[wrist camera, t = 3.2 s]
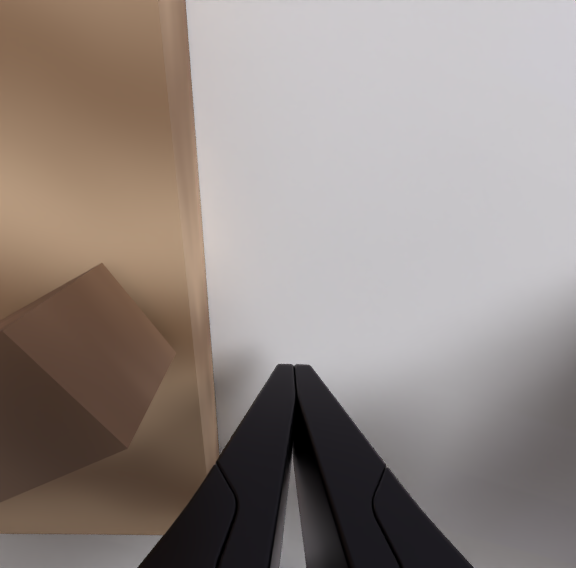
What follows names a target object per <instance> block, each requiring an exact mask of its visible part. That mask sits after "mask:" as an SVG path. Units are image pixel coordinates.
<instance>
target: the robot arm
mask: <svg viewBox="0 0 576 568" xmlns="http://www.w3.org/2000/svg"><path fill="white" fill-rule="evenodd" d="M292 448H293V463H294V471H295V479H296V488H297V496H298V504H299V512H300V520H301V528H302V536H303V544H304V552H305V560H306V568H474V567H473V566H472V565H471V564H470V563H469V562H468V561H467V560H466V559H465V558H464V556H463V555H462V554H461V553H460V552H459V551H458V550H457V549H456V548H455V547H454V546H453V544H452V543H451V542H450V541H449V540H448V539H447V538H446V537H445V536H444V535H443V533H442V532H441V531H440V530H439V529H438V528H437V527H436V526H435V524H434V523H433V522H432V521H431V520H430V519H429V518H428V516H427V515H426V514H425V513H424V512H423V511H422V510H421V508H420V507H419V506H418V505H417V504H416V502H415V501H414V500H413V499H412V497H411V496H410V495H409V494H408V492H407V491H406V490H405V489H404V487H403V486H402V485H401V484H400V482H399V481H398V480H397V478H396V477H395V476H394V474H393V473H392V472H391V470H390V469H389V468H386V464H385V463H384V461H383V460H382V459H381V458H380V456H379V455H378V454H377V452H376V451H375V450H374V448H373V447H372V446H371V444H370V443H369V442H368V440H367V439H366V438H365V437H364V435H363V434H362V433H361V431H360V430H359V429H358V427H357V426H356V425H355V423H354V422H353V421H352V419H351V418H350V417H349V415H348V414H347V413H346V412H345V410H344V409H343V408H342V406H341V405H340V404H339V402H338V401H337V400H336V398H335V397H334V396H333V394H332V393H331V392H330V391H329V389H328V388H327V387H326V385H325V384H324V383H323V381H322V380H321V379H320V377H319V376H318V375H317V373H316V372H315V371H314V369H313V368H312V367H311V366H310V365H303V364H296V365H295V366H293V365H292V364H278V365H277V366H276V368H275V369H274V371H273V372H272V374H271V376H270V377H269V379H268V380H267V382H266V383H265V385H264V387H263V388H262V390H261V391H260V393H259V394H258V396H257V398H256V399H255V401H254V402H253V404H252V405H251V407H250V409H249V410H248V412H247V413H246V415H245V416H244V418H243V420H242V421H241V423H240V424H239V426H238V427H237V429H236V431H235V432H234V434H233V435H232V437H231V438H230V440H229V442H228V443H227V445H226V446H225V448H224V449H223V451H222V453H221V454H220V456H219V457H218V459H217V461H216V464H215V465H213V466H212V468H211V470H210V471H209V473H208V474H207V476H206V477H205V479H204V481H203V482H202V484H201V485H200V486H199V488H198V489H197V491H196V492H195V494H194V495H193V497H192V498H191V500H190V501H189V503H188V504H187V505H186V507H185V508H184V509H183V511H182V512H181V513H180V515H179V516H178V517H177V519H176V520H175V521H174V522H173V524H172V525H171V526H170V528H169V529H168V530H167V532H166V533H165V534H164V535H163V537H162V538H161V539H160V540H159V542H158V543H157V544H156V545H155V547H154V548H153V549H152V550H151V552H150V553H149V554H148V555H147V557H146V558H145V559H144V560H143V562H142V563H141V564H140V565H139V567H138V568H279V566H280V557H281V549H282V540H283V531H284V523H285V514H286V505H287V496H288V488H289V479H290V470H291V460H292Z"/></svg>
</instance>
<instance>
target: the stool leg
mask: <svg viewBox="0 0 576 568" xmlns="http://www.w3.org/2000/svg"><path fill="white" fill-rule="evenodd" d="M175 354H176V352H175V350H174V349H173V348H172V347H171V346H170V344H169V343H168V342H167V341H166V339H165V338H164V337H163V336H162V335H161V333H160V332H159V331H158V330H157V329H156V327H155V326H154V325H153V324H152V322H151V321H150V320H149V319H148V318H147V316H146V315H145V314H144V313H143V312H142V310H141V309H140V308H139V307H138V306H137V304H136V303H135V302H134V301H133V299H132V298H131V297H130V296H129V295H128V293H127V292H126V291H125V290H124V289H123V287H122V286H121V285H120V284H119V283H118V281H117V280H116V279H115V278H114V276H113V275H112V274H111V273H110V272H109V270H108V269H107V268H106V267H105V266H104V264H103V263H100V264H99V265H97V266H95V267H93V268H92V269H90V270H88V271H86V272H85V273H83V274H81V275H79V276H78V277H76V278H74V279H72V280H71V281H69V282H67V283H65V284H64V285H62V286H60V287H58V288H57V289H55V290H53V291H51V292H49V293H48V294H46V295H44V296H42V297H41V298H39V299H37V300H35V301H34V302H32V303H30V304H28V305H27V306H25V307H23V308H21V309H20V310H18V311H16V312H14V313H13V314H11V315H9V316H7V317H6V318H4V319H2V320H0V502H3V501H5V500H7V499H10V498H12V497H15V496H17V495H19V494H22V493H24V492H26V491H29V490H31V489H33V488H36V487H38V486H41V485H43V484H45V483H48V482H50V481H52V480H55V479H57V478H59V477H62V476H64V475H67V474H69V473H71V472H74V471H76V470H78V469H81V468H83V467H86V466H88V465H90V464H93V463H95V462H97V461H100V460H102V459H104V458H107V457H109V456H112V455H114V454H116V453H119V452H121V451H123V450H126V449H128V447H129V445H130V443H131V441H132V440H133V438H134V436H135V434H136V432H137V430H138V428H139V426H140V424H141V422H142V420H143V418H144V416H145V414H146V412H147V410H148V408H149V406H150V404H151V402H152V400H153V398H154V396H155V394H156V392H157V390H158V388H159V386H160V384H161V382H162V380H163V378H164V376H165V374H166V372H167V370H168V368H169V366H170V364H171V362H172V360H173V358H174V356H175Z"/></svg>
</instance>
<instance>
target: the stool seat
mask: <svg viewBox="0 0 576 568" xmlns="http://www.w3.org/2000/svg"><path fill="white" fill-rule="evenodd" d="M100 263H103V264H104V266H105V267H106V268H107V269H108V270H109V272H110V273H111V274H112V275H113V276H114V278H115V279H116V280H117V281H118V283H119V284H120V285H121V286H122V287H123V289H124V290H125V291H126V292H127V293H128V295H129V296H130V297H131V298H132V299H133V301H134V302H135V303H136V304H137V306H138V307H139V308H140V309H141V310H142V312H143V313H144V314H145V315H146V316H147V318H148V319H149V320H150V321H151V322H152V324H153V325H154V326H155V327H156V329H157V330H158V331H159V332H160V333H161V335H162V336H163V337H164V338H165V339H166V341H167V342H168V343H169V344H170V346H171V347H172V348H173V349H174V350H175V352H176V354H175V356H174V358H173V360H172V362H171V364H170V366H169V368H168V370H167V372H166V374H165V376H164V378H163V380H162V382H161V384H160V386H159V388H158V390H157V392H156V394H155V396H154V398H153V400H152V402H151V404H150V406H149V408H148V410H147V412H146V414H145V416H144V418H143V420H142V422H141V424H140V426H139V428H138V430H137V432H136V434H135V436H134V438H133V440H132V441H131V443H130V445H129V447H128V449H126V450H123V451H121V452H119V453H116V454H114V455H112V456H109V457H107V458H104V459H102V460H100V461H97V462H95V463H93V464H90V465H88V466H86V467H83V468H81V469H78V470H76V471H74V472H71V473H69V474H67V475H64V476H62V477H59V478H57V479H55V480H52V481H50V482H48V483H45V484H43V485H41V486H38V487H36V488H33V489H31V490H29V491H26V492H24V493H22V494H19V495H17V496H15V497H12V498H10V499H7V500H5V501H3V502H0V534H107V535H164V534H165V533H166V532H167V530H168V529H169V528H170V526H171V525H172V524H173V522H174V521H175V520H176V519H177V517H178V516H179V515H180V513H181V512H182V511H183V509H184V508H185V507H186V505H187V504H188V503H189V501H190V500H191V498H192V497H193V495H194V494H195V492H196V491H197V489H198V488H199V486H200V485H201V484H202V482H203V481H204V479H205V477H206V476H207V474H208V473H209V471H210V470H211V468H212V466H213V465H215V464H216V461H217V459H218V457H219V444H218V431H217V418H216V404H215V391H214V377H213V364H212V351H211V337H210V324H209V311H208V297H207V284H206V270H205V257H204V244H203V230H202V217H201V203H200V190H199V177H198V163H197V150H196V136H195V123H194V110H193V96H192V83H191V69H190V56H189V43H188V29H187V16H186V2H185V0H0V320H2V319H4V318H6V317H7V316H9V315H11V314H13V313H14V312H16V311H18V310H20V309H21V308H23V307H25V306H27V305H28V304H30V303H32V302H34V301H35V300H37V299H39V298H41V297H42V296H44V295H46V294H48V293H49V292H51V291H53V290H55V289H57V288H58V287H60V286H62V285H64V284H65V283H67V282H69V281H71V280H72V279H74V278H76V277H78V276H79V275H81V274H83V273H85V272H86V271H88V270H90V269H92V268H93V267H95V266H97V265H99V264H100Z"/></svg>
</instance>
